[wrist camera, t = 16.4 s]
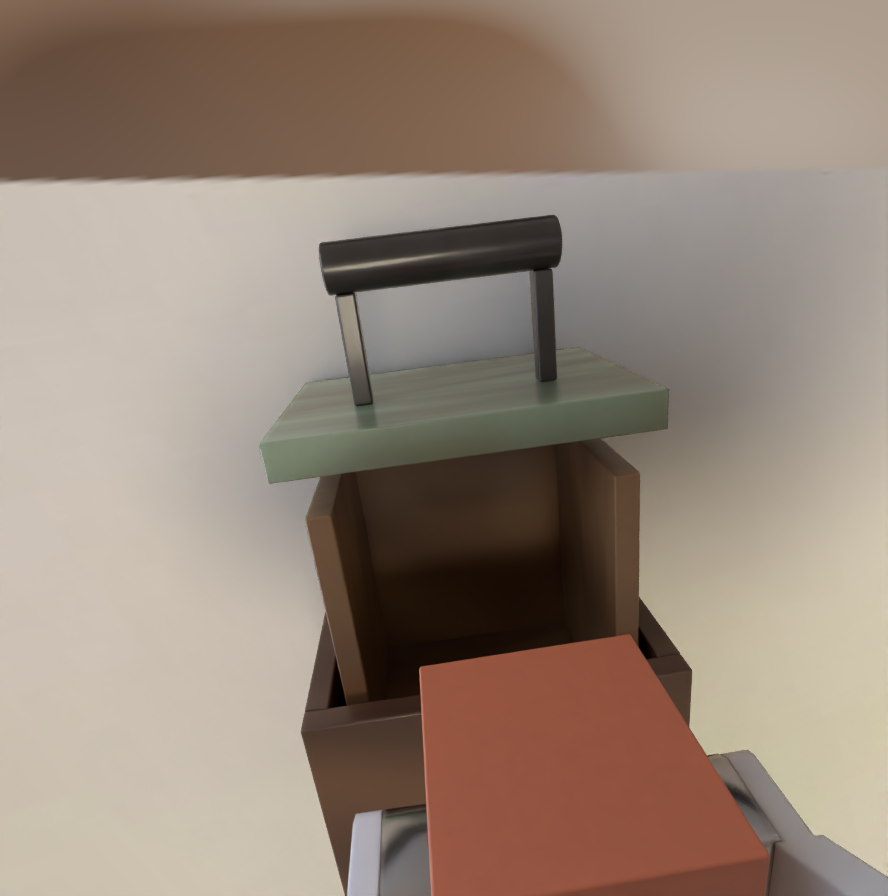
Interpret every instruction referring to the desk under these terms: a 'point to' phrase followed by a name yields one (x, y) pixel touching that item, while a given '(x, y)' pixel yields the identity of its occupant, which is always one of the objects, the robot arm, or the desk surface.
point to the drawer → (465, 475)
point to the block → (574, 782)
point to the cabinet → (408, 738)
